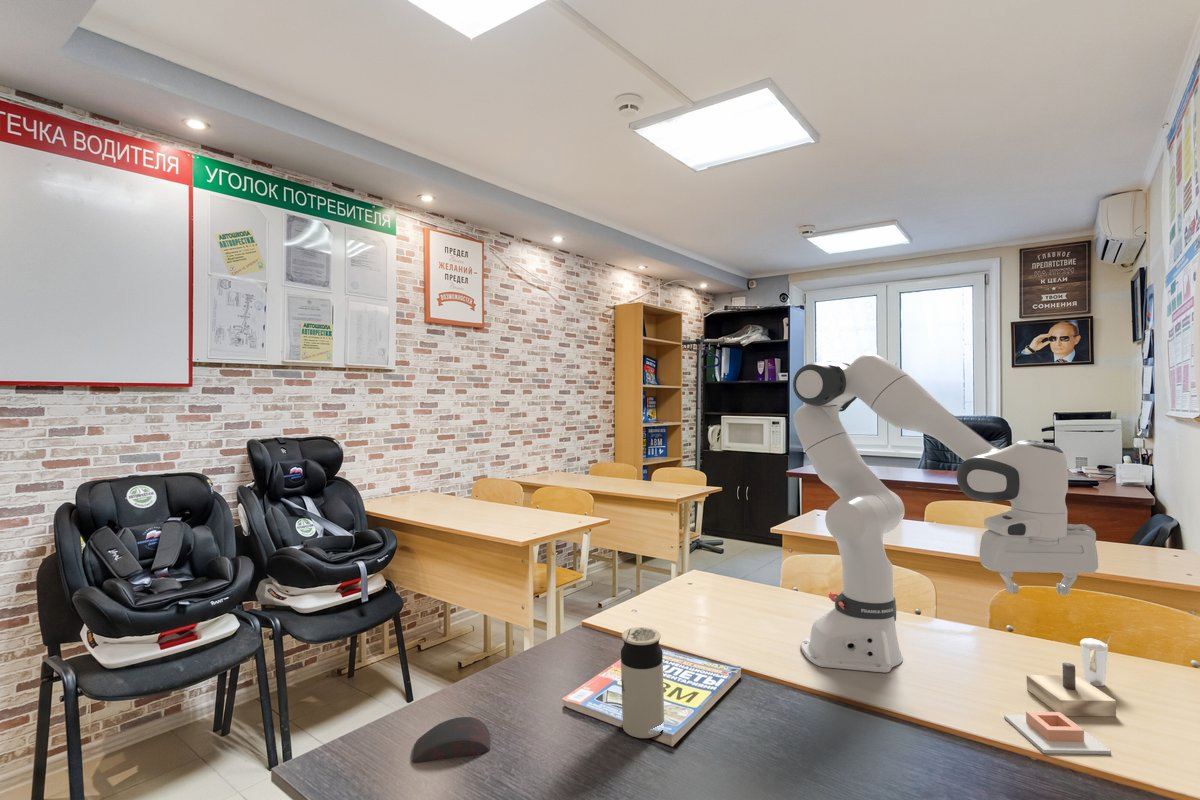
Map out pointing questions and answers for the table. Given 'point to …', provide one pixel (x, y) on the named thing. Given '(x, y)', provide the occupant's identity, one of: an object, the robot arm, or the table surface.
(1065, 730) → the pink rectangular frame
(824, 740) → the table surface
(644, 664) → the travel mug
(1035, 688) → the peg stand
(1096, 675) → the milkshake
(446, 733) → the computer mouse
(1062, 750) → the mat
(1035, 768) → the table surface
